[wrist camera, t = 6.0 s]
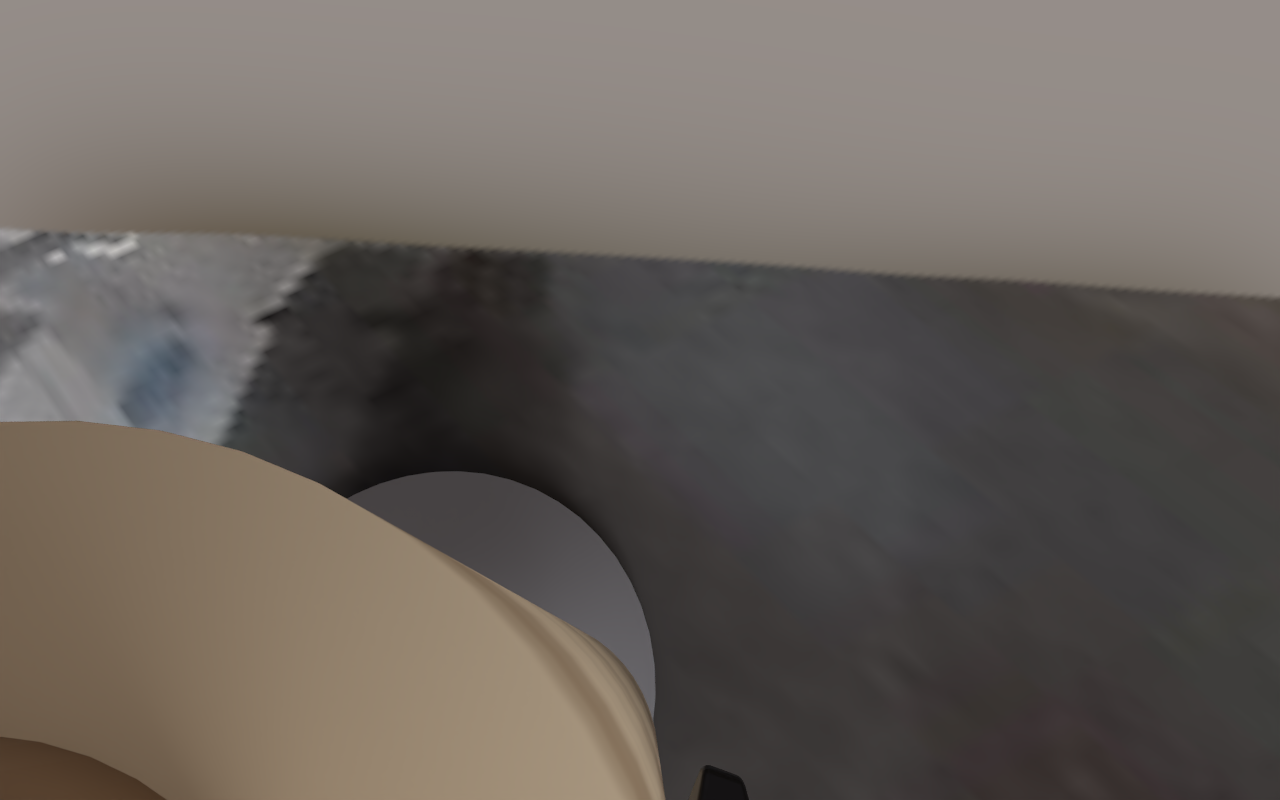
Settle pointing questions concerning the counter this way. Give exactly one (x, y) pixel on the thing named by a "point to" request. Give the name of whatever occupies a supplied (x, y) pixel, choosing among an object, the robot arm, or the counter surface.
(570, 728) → the cream tall cylinder
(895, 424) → the counter surface
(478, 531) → the disc
